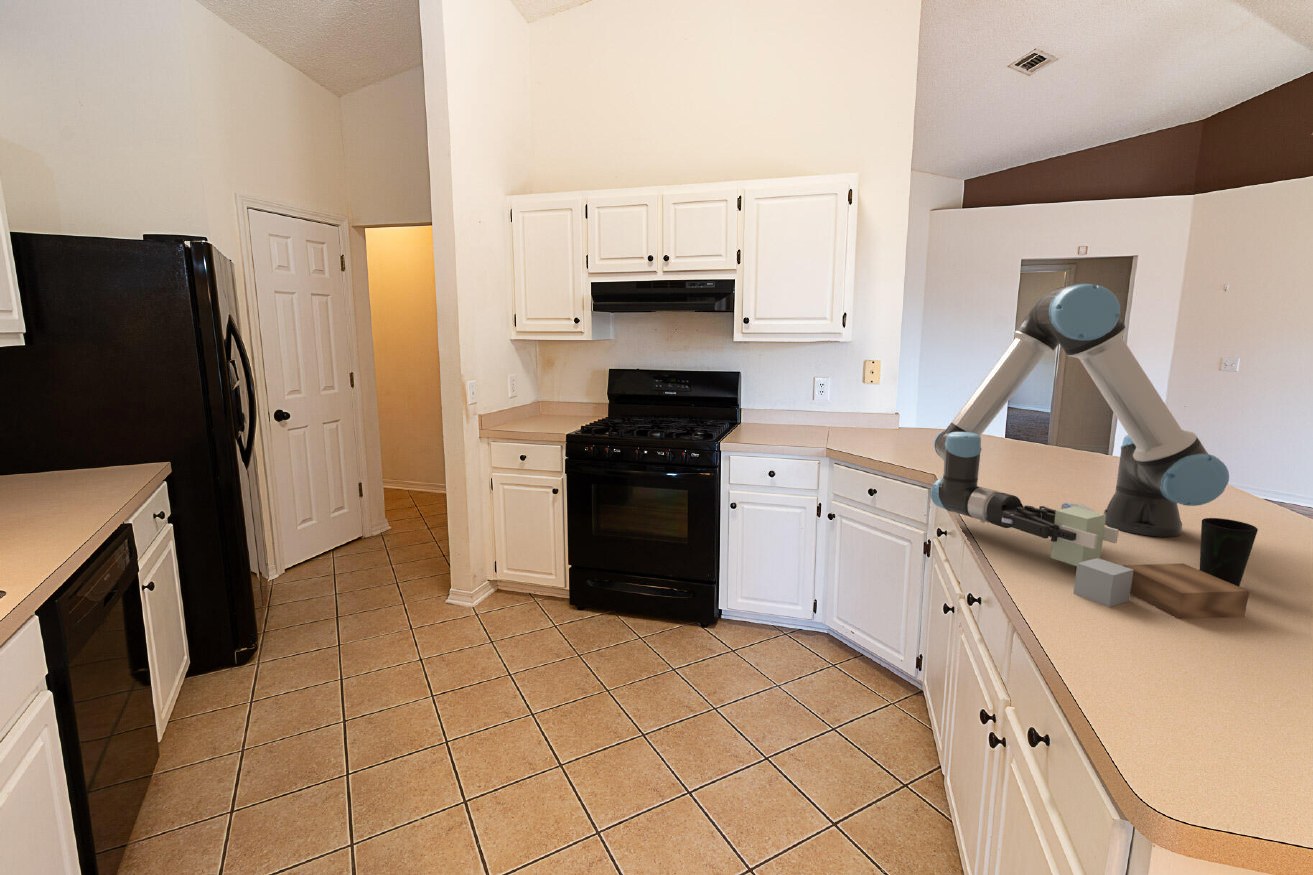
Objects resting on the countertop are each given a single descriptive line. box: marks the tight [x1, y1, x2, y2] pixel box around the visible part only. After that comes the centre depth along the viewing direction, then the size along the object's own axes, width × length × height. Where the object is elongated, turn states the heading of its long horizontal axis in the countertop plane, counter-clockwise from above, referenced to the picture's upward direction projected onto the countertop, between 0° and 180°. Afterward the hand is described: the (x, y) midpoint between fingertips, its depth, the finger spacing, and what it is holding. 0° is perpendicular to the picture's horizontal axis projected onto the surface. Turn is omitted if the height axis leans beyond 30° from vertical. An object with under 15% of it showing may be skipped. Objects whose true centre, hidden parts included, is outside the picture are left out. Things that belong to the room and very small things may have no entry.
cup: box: [1199, 517, 1259, 587], centre depth 114 cm, size 8×8×12 cm
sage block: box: [1050, 507, 1106, 567], centre depth 121 cm, size 6×6×10 cm
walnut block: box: [1122, 563, 1250, 620], centre depth 107 cm, size 12×12×5 cm
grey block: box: [1073, 558, 1134, 608], centre depth 109 cm, size 6×6×6 cm
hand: (1106, 539), depth 116 cm, fingers closed on sage block, 6 cm apart
